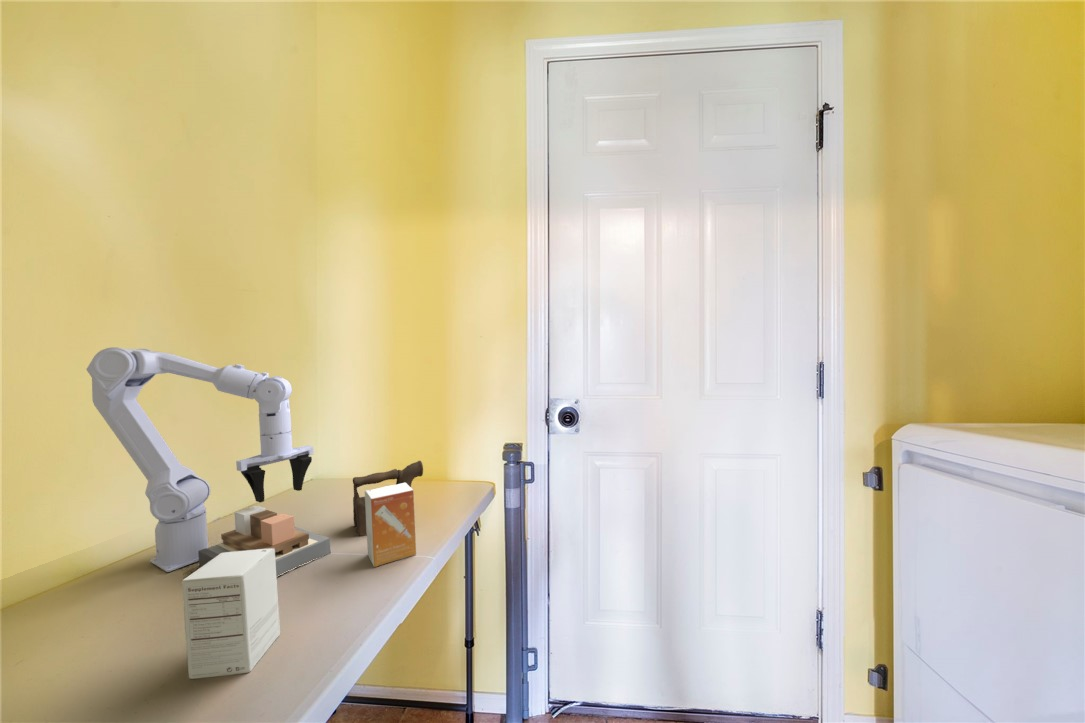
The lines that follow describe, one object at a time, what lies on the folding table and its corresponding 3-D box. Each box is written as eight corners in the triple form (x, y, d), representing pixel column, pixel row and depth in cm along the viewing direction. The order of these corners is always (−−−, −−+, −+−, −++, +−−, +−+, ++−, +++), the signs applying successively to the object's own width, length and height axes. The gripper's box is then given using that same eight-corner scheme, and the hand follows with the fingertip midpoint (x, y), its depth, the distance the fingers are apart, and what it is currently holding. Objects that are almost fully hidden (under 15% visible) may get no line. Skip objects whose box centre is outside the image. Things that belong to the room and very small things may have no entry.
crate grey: (235, 531, 82) (234, 511, 82) (257, 523, 86) (256, 505, 86) (245, 535, 80) (243, 515, 80) (267, 527, 84) (266, 508, 84)
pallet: (221, 544, 81) (220, 514, 81) (265, 528, 88) (263, 501, 88) (264, 562, 73) (262, 529, 73) (309, 543, 80) (307, 513, 79)
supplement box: (227, 639, 57) (221, 551, 57) (282, 634, 58) (277, 546, 58) (185, 681, 50) (179, 579, 50) (249, 674, 50) (243, 574, 50)
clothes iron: (428, 519, 97) (425, 464, 97) (355, 537, 89) (352, 477, 88) (419, 509, 104) (417, 457, 104) (351, 525, 95) (348, 469, 95)
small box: (373, 568, 75) (370, 498, 75) (367, 555, 80) (363, 490, 80) (417, 555, 79) (414, 489, 79) (408, 543, 85) (405, 481, 85)
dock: (199, 566, 79) (198, 550, 79) (281, 535, 92) (280, 521, 92) (246, 591, 69) (245, 573, 69) (330, 552, 82) (329, 537, 82)
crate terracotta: (261, 541, 77) (260, 520, 77) (284, 533, 80) (283, 513, 80) (272, 545, 75) (271, 524, 75) (295, 536, 78) (293, 516, 78)
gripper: (246, 441, 79) (250, 510, 79) (319, 427, 91) (323, 487, 92) (230, 438, 83) (233, 504, 83) (302, 426, 95) (305, 483, 95)
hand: (279, 495), depth 88 cm, fingers open, 7 cm apart
